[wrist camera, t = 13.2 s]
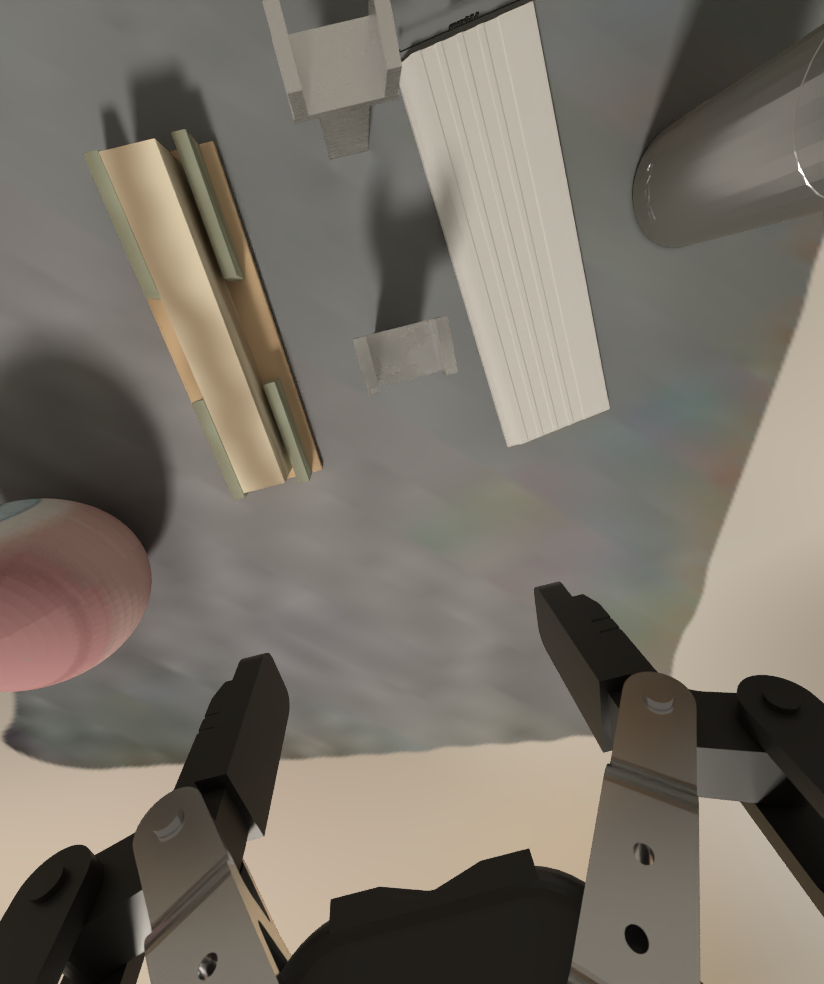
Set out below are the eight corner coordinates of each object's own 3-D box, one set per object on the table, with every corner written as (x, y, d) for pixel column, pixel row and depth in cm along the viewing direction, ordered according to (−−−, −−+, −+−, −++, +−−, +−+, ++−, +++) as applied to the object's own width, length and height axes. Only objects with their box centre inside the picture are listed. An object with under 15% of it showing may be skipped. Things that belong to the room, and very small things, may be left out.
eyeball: (121, 450, 38) (-18, 520, 24) (207, 578, 44) (135, 695, 30) (-28, 508, 38) (-250, 610, 24) (76, 628, 44) (-56, 766, 30)
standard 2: (424, 319, 37) (449, 315, 27) (433, 360, 38) (459, 372, 28) (354, 337, 37) (351, 339, 26) (365, 377, 38) (367, 395, 28)
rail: (183, 164, 30) (154, 138, 26) (293, 466, 40) (284, 482, 35) (135, 176, 30) (98, 151, 26) (256, 475, 39) (243, 493, 35)
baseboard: (491, 450, 43) (601, 406, 42) (500, 458, 40) (617, 411, 40) (374, 79, 31) (524, 14, 30) (375, 55, 28) (541, -17, 28)
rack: (214, 144, 31) (199, 125, 28) (322, 467, 41) (319, 478, 38) (95, 173, 31) (67, 156, 28) (233, 490, 40) (223, 503, 37)
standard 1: (378, 90, 31) (386, -29, 20) (390, 149, 32) (404, 66, 22) (294, 111, 30) (260, 1, 20) (309, 169, 32) (285, 94, 22)
